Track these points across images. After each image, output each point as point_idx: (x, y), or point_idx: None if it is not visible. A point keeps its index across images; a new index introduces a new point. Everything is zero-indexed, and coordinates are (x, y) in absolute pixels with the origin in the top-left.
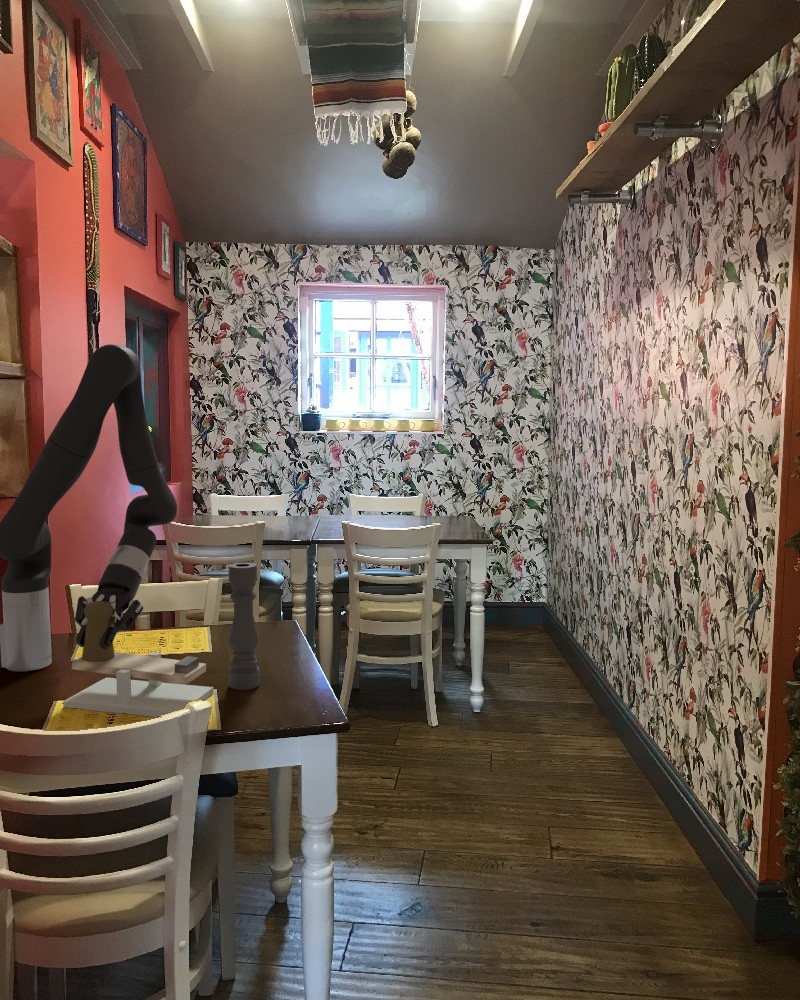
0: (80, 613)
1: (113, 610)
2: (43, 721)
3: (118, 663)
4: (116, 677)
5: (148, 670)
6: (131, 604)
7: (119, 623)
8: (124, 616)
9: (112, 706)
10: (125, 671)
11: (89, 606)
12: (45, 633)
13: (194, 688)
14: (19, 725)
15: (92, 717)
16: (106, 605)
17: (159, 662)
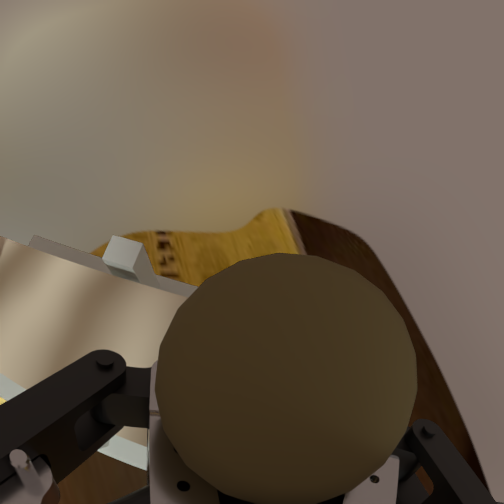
0: (438, 460)
1: (164, 441)
2: (306, 243)
3: (154, 330)
4: (145, 250)
5: (54, 266)
6: (1, 451)
7: (116, 359)
8: (76, 389)
9: (169, 278)
10: (115, 247)
11: (354, 274)
12: None
13: (7, 380)
14: (341, 227)
15: (209, 259)
16: (188, 323)
17: (30, 344)
